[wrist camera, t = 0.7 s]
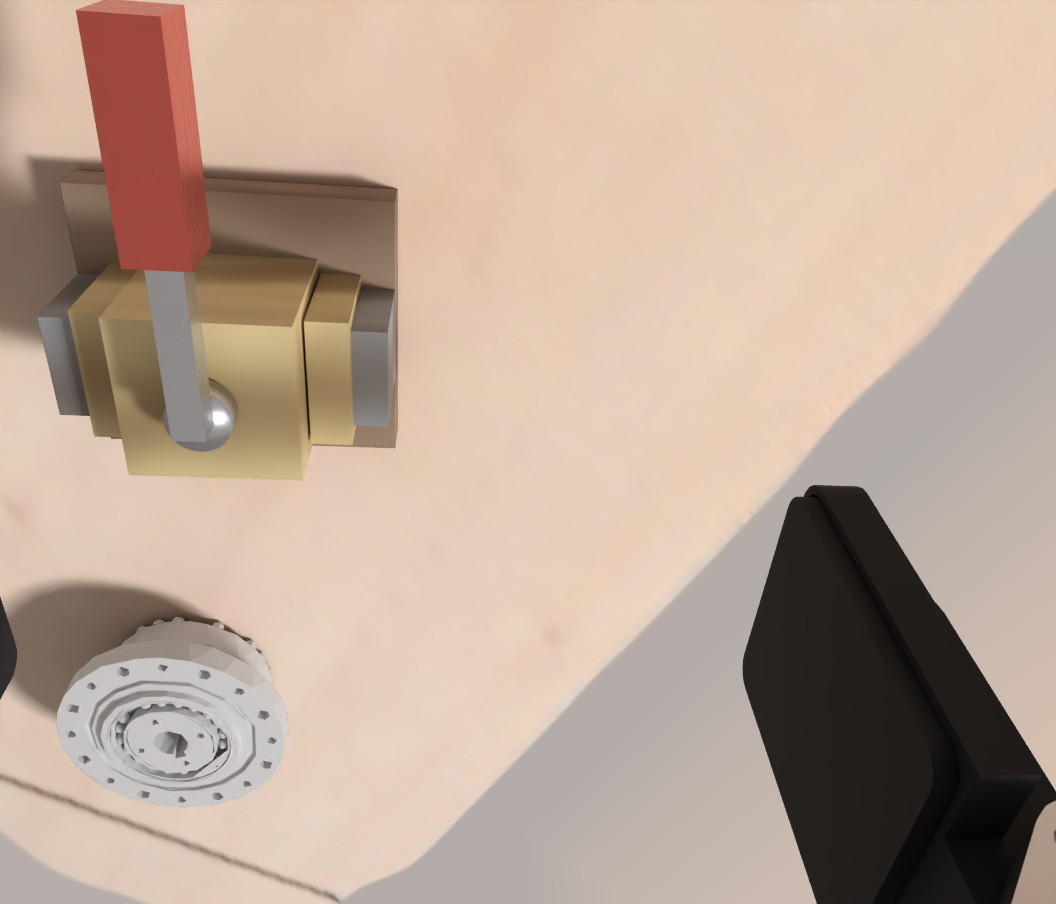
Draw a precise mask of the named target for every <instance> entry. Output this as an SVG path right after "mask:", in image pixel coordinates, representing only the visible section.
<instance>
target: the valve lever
mask: <svg viewBox="0 0 1056 904" xmlns="http://www.w3.org/2000/svg"><path fill="white" fill-rule="evenodd" d="M76 13H77V19H78V25H79V31H80V36H81V42H82V48H83V54H84V59H85V65H86V71H87V77H88V82H89V88H90V94H91V100H92V105H93V111H94V117H95V123H96V129H97V134H98V140H99V146H100V152H101V157H102V163H103V169H104V175H105V180H106V186H107V192H108V198H109V203H110V209H111V215H112V221H113V226H114V232H115V238H116V244H117V249H118V255H119V261H120V267H121V269H133V270H144V272H145V279H146V285H147V291H148V298H149V304H150V310H151V316H152V323H153V329H154V335H155V342H156V348H157V354H158V360H159V367H160V373H161V379H162V386H163V392H164V398H165V404H166V409H165V411H164V415H163V424H164V427H165V430H166V432H167V433H168V435H169V436H170V437H171V441H175V442H176V443H177V444H179V445H180V446H182V447H184V448H186V449H189V450H192V451H199V452H206V451H212V450H215V449H218V448H219V447H221V446H222V445H224V444H225V443H226V442H227V440H228V439H229V437H230V434H231V432H232V429H233V427H234V425H235V422H236V420H237V417H238V406H237V402H236V400H235V398H234V397H233V395H232V394H231V393H230V392H229V391H228V390H227V389H226V388H225V387H223V386H222V385H220V384H218V383H216V382H213V381H210V380H209V379H208V372H207V364H206V356H205V348H204V340H203V332H202V325H201V317H200V309H199V301H198V293H197V285H196V277H195V269H196V268H197V266H198V265H199V263H200V262H201V260H202V259H203V257H204V256H205V254H206V253H207V251H208V250H209V249H210V247H211V246H212V244H211V236H210V227H209V218H208V209H207V201H206V192H205V183H204V175H203V166H202V157H201V149H200V140H199V131H198V123H197V114H196V105H195V96H194V88H193V79H192V70H191V62H190V53H189V44H188V36H187V27H186V18H185V10H184V5H177V4H164V3H151V2H138V1H125V0H102V1H100V2H97V3H94V4H92V5H89V6H86V7H83V8H81V9H78V10H76Z"/></svg>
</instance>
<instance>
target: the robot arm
mask: <svg viewBox="0 0 1056 904" xmlns="http://www.w3.org/2000/svg"><path fill="white" fill-rule="evenodd" d="M16 660H17V649H16V644H15V641H14V638H13V634H12V631H11V628H10V625H9V622H8V619H7V616H6V613H5V610H4V607H3V604H2V601H1V598H0V699H1V697H2V695H3V693H4V692H5V690H6V688H7V686H8V684H9V683H10V681H11V679H12V676H13V674H14V671H15V667H16ZM743 680H744V685H745V688H746V692H747V694H748V697H749V701H750V704H751V707H752V710H753V713H754V716H755V719H756V722H757V725H758V728H759V731H760V734H761V737H762V740H763V743H764V746H765V749H766V752H767V755H768V757H769V761H770V764H771V767H772V770H773V773H774V776H775V779H776V782H777V785H778V788H779V791H780V794H781V797H782V800H783V803H784V806H785V809H786V812H787V815H788V818H789V821H790V824H791V827H792V830H793V833H794V836H795V839H796V842H797V845H798V848H799V851H800V854H801V857H802V860H803V863H804V866H805V869H806V872H807V875H808V878H809V881H810V884H811V887H812V890H813V893H814V896H815V899H816V902H817V904H1056V791H1055V789H1054V788H1053V786H1052V785H1051V783H1050V781H1049V780H1048V778H1047V777H1046V775H1045V773H1044V772H1043V770H1042V769H1041V767H1040V765H1039V764H1038V762H1037V761H1036V759H1035V757H1034V756H1033V754H1032V753H1031V751H1030V749H1029V748H1028V746H1027V745H1026V743H1025V741H1024V740H1023V738H1022V737H1021V735H1020V733H1019V732H1018V730H1017V729H1016V727H1015V725H1014V724H1013V722H1012V721H1011V719H1010V717H1009V716H1008V714H1007V713H1006V711H1005V709H1004V708H1003V706H1002V705H1001V703H1000V701H999V700H998V698H997V697H996V695H995V693H994V692H993V690H992V689H991V687H990V685H989V684H988V682H987V681H986V679H985V677H984V676H983V674H982V673H981V671H980V669H979V668H978V666H977V665H976V663H975V661H974V660H973V658H972V657H971V655H970V654H969V652H968V650H967V649H966V647H965V645H964V644H963V643H962V641H961V639H960V638H959V636H958V634H957V633H956V631H955V630H954V628H953V626H952V625H951V623H950V621H949V620H948V618H947V617H946V615H945V613H944V612H943V611H942V610H941V609H940V607H939V606H938V605H937V604H936V603H935V602H934V600H933V599H932V597H931V595H930V594H929V592H928V591H927V589H926V587H925V586H924V584H923V583H922V581H921V579H920V578H919V576H918V574H917V573H916V571H915V570H914V569H913V566H912V565H911V563H910V562H909V560H908V558H907V557H906V555H905V554H904V552H903V550H902V549H901V547H900V545H899V544H898V542H897V541H896V539H895V537H894V536H893V534H892V533H891V531H890V529H889V528H888V526H887V525H886V523H885V521H884V520H883V518H882V517H881V515H880V513H879V512H878V510H877V508H876V507H875V505H874V504H873V502H872V500H871V499H870V497H869V496H868V494H867V493H866V492H865V491H864V489H863V488H860V487H856V486H825V485H824V486H823V485H813V486H811V487H809V489H808V490H807V491H806V492H805V495H804V497H795V498H793V499H792V501H791V502H790V504H789V507H788V510H787V513H786V517H785V520H784V523H783V527H782V530H781V534H780V537H779V540H778V543H777V547H776V550H775V554H774V557H773V560H772V563H771V567H770V570H769V574H768V577H767V580H766V584H765V587H764V590H763V594H762V597H761V601H760V604H759V607H758V610H757V614H756V617H755V620H754V624H753V627H752V630H751V634H750V637H749V640H748V644H747V647H746V651H745V654H744V659H743Z"/></svg>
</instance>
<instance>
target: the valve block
mask: <svg viewBox="0 0 1056 904" xmlns="http://www.w3.org/2000/svg"><path fill="white" fill-rule="evenodd" d="M204 183H205V192H206V201H207V209H208V218H209V227H210V236H211V244H212V246H211V247H210V249H209V250H208V251H207V253H206V254H205V256H204V257H203V259H202V260H201V262H200V263H199V265H198V266H197V268H196V269H195V277H196V285H197V293H198V301H199V309H200V317H201V325H202V332H203V340H204V348H205V356H206V364H207V372H208V379H209V380H210V381H213V382H216V383H218V384H220V385H222V386H223V387H225V388H226V389H227V390H228V391H229V392H230V393H231V394H232V395H233V397H234V398H235V400H236V402H237V406H238V417H237V420H236V422H235V425H234V427H233V429H232V432H231V434H230V437H229V439H228V440H227V442H226V443H225V444H224V445H222V446H221V447H219V448H218V449H215V450H212V451H206V452H199V451H192V450H189V449H186V448H184V447H182V446H180V445H179V444H177V443H176V442H175V441H171V437H170V436H169V435H168V433H167V432H166V430H165V427H164V424H163V415H164V411H165V409H166V404H165V398H164V392H163V386H162V379H161V373H160V367H159V360H158V354H157V348H156V342H155V335H154V329H153V323H152V316H151V310H150V304H149V298H148V291H147V285H146V279H145V272H144V270H133V269H121V267H120V261H119V255H118V249H117V244H116V238H115V232H114V226H113V221H112V215H111V209H110V203H109V198H108V192H107V186H106V180H105V175H104V172H103V171H87V170H75V171H74V172H73V173H71V174H70V175H69V176H67V177H66V178H65V179H64V180H62V181H61V182H60V187H61V192H62V197H63V202H64V207H65V212H66V217H67V222H68V227H69V232H70V237H71V241H72V246H73V251H74V256H75V261H76V266H77V271H78V275H77V276H76V277H75V278H74V279H73V280H72V281H71V282H70V283H69V284H68V285H67V286H66V287H65V288H64V289H63V290H62V291H61V292H60V293H59V294H58V295H57V297H56V298H55V299H54V300H53V301H52V302H51V303H50V304H49V305H48V306H47V307H46V308H45V309H44V310H43V311H42V312H41V313H40V314H39V315H38V316H37V318H38V323H39V327H40V331H41V335H42V340H43V344H44V348H45V353H46V357H47V361H48V365H49V370H50V374H51V378H52V383H53V387H54V391H55V395H56V400H57V404H58V408H59V413H60V415H81V416H90V418H91V423H92V427H93V432H94V436H99V437H111V439H122V442H123V447H124V452H125V457H126V463H127V468H128V473H129V475H144V476H177V477H210V478H242V479H275V480H303V477H304V473H305V469H306V465H307V462H308V458H309V454H310V450H311V447H312V445H316V446H345V447H375V448H395V445H396V437H397V429H398V189H387V188H370V187H354V186H337V185H320V184H304V183H287V182H270V181H254V180H237V179H220V178H204Z"/></svg>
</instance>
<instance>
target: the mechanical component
mask: <svg viewBox="0 0 1056 904" xmlns="http://www.w3.org/2000/svg"><path fill="white" fill-rule="evenodd" d="M255 648H256V644H255V643H254V642H253V641H250V640H249V641H244V640H243V639H242V638H240V637H239V636H238V635H236V634H233V633H230V632H228V631H225V630H224V625H223V624H222V623H218V622H215V623H214V624H212V625H208V624H203V623H198V622H192V621H185V620H184V619H183V618H182V617H175V618H174V619H173V620H172V622H165V621H163V620H156V621H154V623H153V626H148V627H146V626H140V627H139V628H138V629H137V631H136V633H135V634H134V635H133V636H131V637H130V638H128V639H127V640H125V641H124V642H123V643H122V644H121V646H119V647H116V648H114V649H112V650H109V651H107V652H105V653H102V654H100V655H98V656H95V657H93V658H92V659H91V660H90V661H89V662H88V663H87V664H86V665H85V666H83V667H82V668H81V669H80V670H79V671H78V672H77V673H76V674H75V675H74V676H73V678H72V680H71V682H70V684H69V686H68V688H67V691H66V693H65V695H64V697H63V699H62V701H61V704H60V706H59V708H58V711H57V724H56V727H57V731H58V734H59V738H60V742H61V745H62V747H63V749H64V750H65V751H66V753H67V754H68V756H69V757H70V758H71V760H72V761H73V762H74V764H75V765H76V766H77V767H78V768H79V769H80V770H81V771H83V772H84V773H85V774H86V775H88V776H89V777H90V778H92V779H93V780H95V781H96V782H98V783H99V784H101V785H103V786H104V787H106V788H107V789H110V790H112V791H114V792H116V793H119V794H121V795H123V796H126V797H128V798H132V799H135V800H139V801H143V802H147V803H151V804H155V805H162V806H174V807H198V806H212V805H215V804H219V803H223V802H227V801H231V800H234V799H238V798H241V797H242V796H244V795H246V794H248V793H250V792H252V791H253V790H255V789H257V788H259V787H260V786H262V785H263V784H264V783H265V782H266V781H267V780H268V779H269V778H271V776H272V775H273V773H274V772H275V770H276V768H277V767H278V765H279V763H280V762H281V760H282V758H283V754H284V749H285V745H286V740H287V736H288V717H287V711H286V708H285V706H284V703H283V701H282V699H281V696H280V695H279V694H278V692H277V691H276V690H275V688H274V687H273V686H272V679H271V671H272V669H271V668H270V667H268V666H267V664H266V662H265V661H266V656H265V654H263V653H258V651H257V650H256V649H255Z"/></svg>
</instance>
